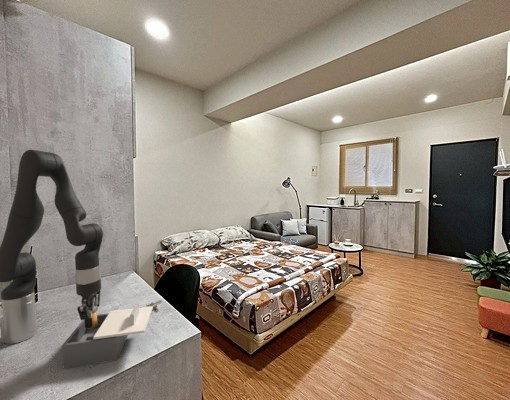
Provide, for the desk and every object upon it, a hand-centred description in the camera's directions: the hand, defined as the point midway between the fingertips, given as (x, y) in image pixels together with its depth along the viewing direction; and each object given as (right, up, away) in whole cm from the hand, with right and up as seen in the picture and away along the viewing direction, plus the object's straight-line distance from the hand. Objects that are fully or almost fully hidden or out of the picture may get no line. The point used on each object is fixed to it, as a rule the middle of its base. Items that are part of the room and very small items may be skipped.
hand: (91, 324), depth 88 cm
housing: (+3, -9, +1) cm, 10 cm away
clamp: (+10, -8, +26) cm, 29 cm away
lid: (+11, -1, +3) cm, 12 cm away
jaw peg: (0, -1, 0) cm, 1 cm away
